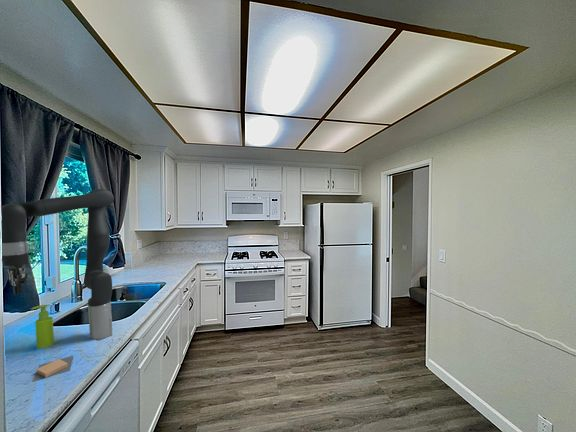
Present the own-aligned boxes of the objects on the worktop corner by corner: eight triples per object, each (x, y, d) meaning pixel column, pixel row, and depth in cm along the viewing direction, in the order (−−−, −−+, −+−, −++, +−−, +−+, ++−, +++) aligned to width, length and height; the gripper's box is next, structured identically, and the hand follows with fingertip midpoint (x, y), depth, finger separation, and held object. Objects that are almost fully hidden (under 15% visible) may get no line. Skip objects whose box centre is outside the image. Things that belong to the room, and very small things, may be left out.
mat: (73, 356, 111) (73, 355, 111) (70, 371, 101) (69, 370, 101) (39, 366, 105) (39, 364, 105) (31, 383, 95) (31, 382, 95)
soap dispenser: (35, 345, 119) (32, 305, 118) (55, 341, 123) (52, 301, 122) (32, 352, 115) (29, 309, 113) (52, 346, 119) (50, 306, 117)
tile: (36, 368, 100) (45, 374, 97) (58, 358, 106) (67, 363, 103) (37, 372, 100) (45, 377, 97) (59, 362, 106) (67, 366, 103)
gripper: (-6, 253, 101) (-2, 294, 103) (8, 256, 96) (12, 300, 97) (20, 249, 108) (23, 288, 109) (35, 252, 103) (38, 293, 104)
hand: (18, 294), depth 103 cm, fingers closed
